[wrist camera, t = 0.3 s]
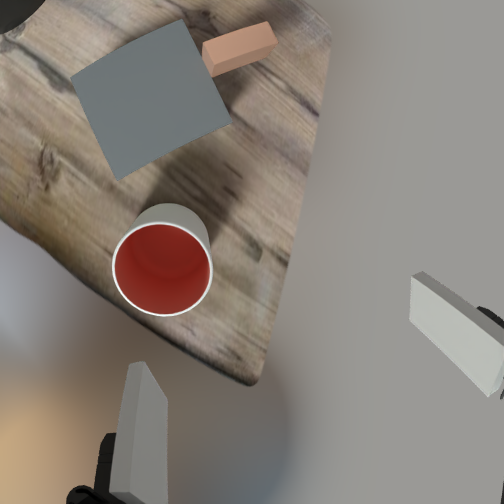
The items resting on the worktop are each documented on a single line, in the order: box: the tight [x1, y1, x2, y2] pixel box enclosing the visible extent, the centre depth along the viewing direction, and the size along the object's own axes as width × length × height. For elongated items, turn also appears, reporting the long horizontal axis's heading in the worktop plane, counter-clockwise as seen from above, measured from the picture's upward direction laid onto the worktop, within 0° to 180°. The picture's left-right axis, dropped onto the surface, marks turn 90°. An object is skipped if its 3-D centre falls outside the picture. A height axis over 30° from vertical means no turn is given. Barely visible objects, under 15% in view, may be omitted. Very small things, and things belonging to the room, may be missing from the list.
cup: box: [112, 203, 213, 316], centre depth 33 cm, size 10×10×10 cm
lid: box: [70, 19, 279, 181], centre depth 24 cm, size 13×19×6 cm
